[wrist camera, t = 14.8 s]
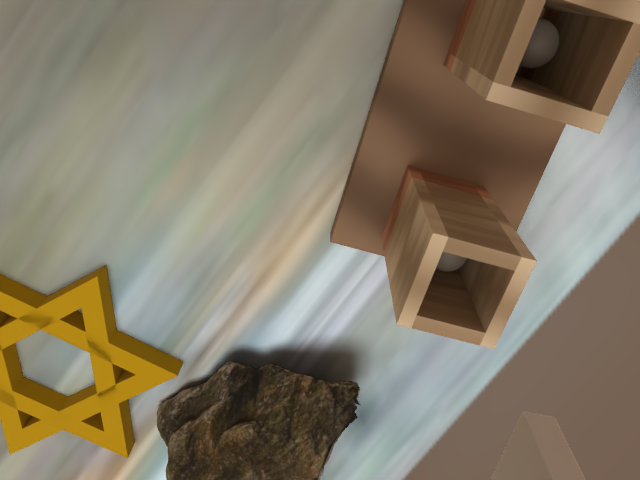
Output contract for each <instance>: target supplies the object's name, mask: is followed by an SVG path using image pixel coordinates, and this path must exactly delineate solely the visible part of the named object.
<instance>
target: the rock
mask: <svg viewBox="0 0 640 480" xmlns="http://www.w3.org/2000/svg"><path fill="white" fill-rule="evenodd" d="M358 386H359V385H358V384H357V383H355V382H352V381H339V382H331V381H322V380H318V379H316V378H314V377H312V376H307V375H301V374H298V373H294V372H292V371H290V370H288V369H285V368H282V367H280V366H277V365H274V364H268V365H264V366H262V367H261V368H260V369H255V368H253V367H251V366H248V365H245V364H242V363H236V362H233V361H228V362H226V363H225V364H224V365H223V366H222V367H221V368H220V369H219V370H218V371H217V372H216V373H215V374H214V375H212V376H211V377H210V378H209V380H208V381H207V382H206V383H204V384H201V385H198V386H195V387H191V388H187V389H185V390H182V391H181V392H179V393H178V394H177V395H176V396H175V397H173V398H171V399H168V400H166V401H165V402H164V403H162V404H160V405H158V410H157V427H158V430H159V432H160V434H161V437H162V438H163V439H164V441H165V443H166V445H167V447H168V464H167V467H166V478H167V480H319V477H320V476H322V473H323V469H324V465H325V464H326V463H327V461H328V459H329V457H330V454H331V452H332V449H333V446H334V444H335V443H336V441H337V439H338V438H339V437H340V435H341V434H342V432H343V431H344V430H345V428H347V427H348V425H349V424H350V423H352V422H353V421H354V420H355V419H357V418H358V417H357V416H356V415H357V414H356V413H355V412H354V411H355V410H356V409H357V406H355V405H356V404H358V405H360V404H359V403H358V401H357V399H356V398H358V395H360V393H359V390H360V389H359V388H360V387H358ZM354 403H356V404H354Z"/></svg>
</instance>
